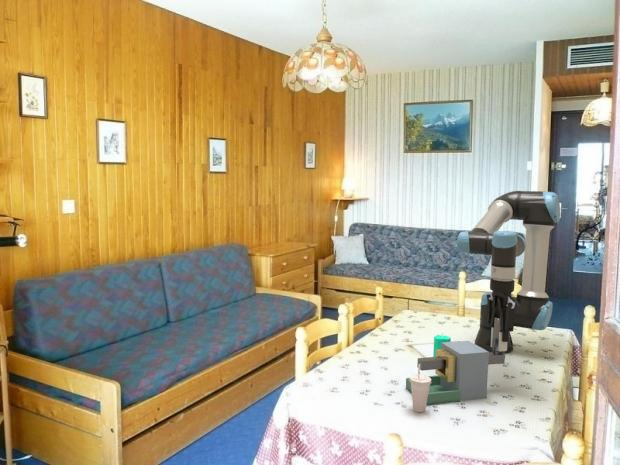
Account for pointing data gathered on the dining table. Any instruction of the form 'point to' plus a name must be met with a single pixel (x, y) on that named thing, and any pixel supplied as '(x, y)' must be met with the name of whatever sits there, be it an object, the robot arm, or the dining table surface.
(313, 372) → the dining table surface
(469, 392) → the bearing block
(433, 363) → the l-shaped bracket
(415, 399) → the smoothie
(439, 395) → the tray
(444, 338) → the candle
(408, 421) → the dining table surface
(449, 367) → the spacer
